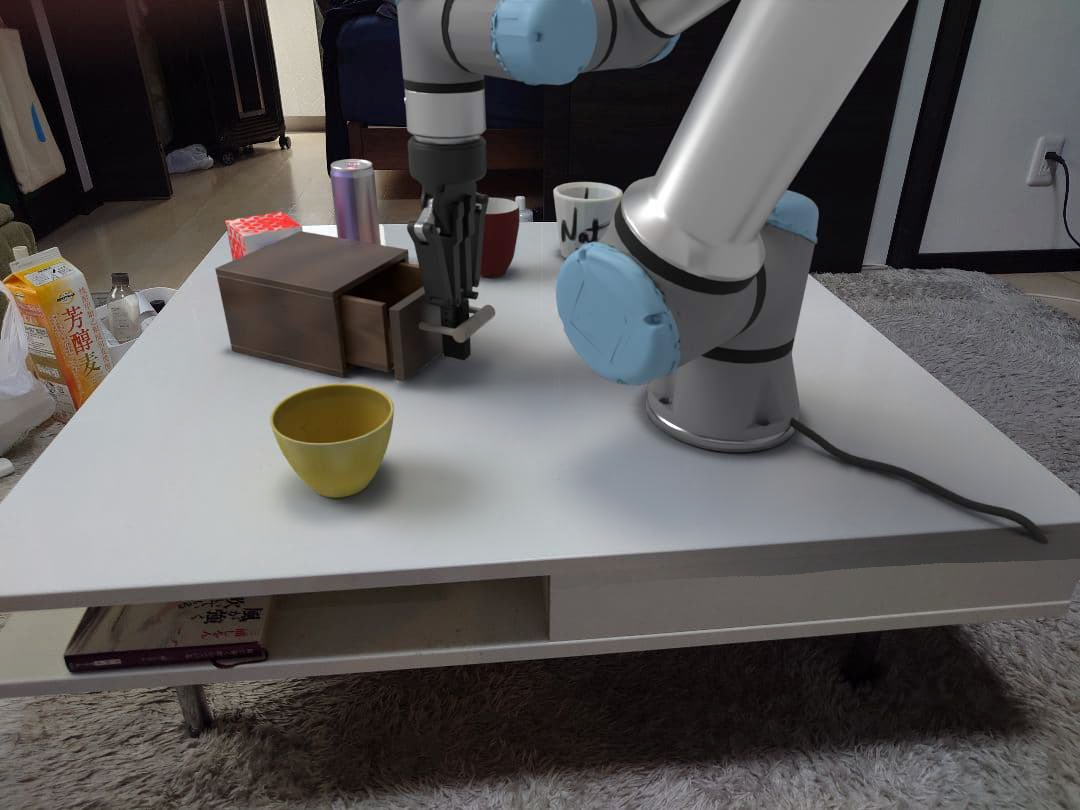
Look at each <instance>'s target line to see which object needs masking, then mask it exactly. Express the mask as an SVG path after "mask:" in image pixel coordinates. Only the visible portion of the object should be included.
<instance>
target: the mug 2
mask: <svg viewBox="0 0 1080 810" xmlns="http://www.w3.org/2000/svg"><path fill="white" fill-rule="evenodd" d="M552 192H553V199H554V208H555V216H556V224H557V232H558V242H559V249H560V250H559V251H560V254H561V256H562V257H563V258H564V259H565V260H566V259H567V258H568V257H569V256H570V255H571V254H572V253H573V252H575V251H576V250H578V249H579V248H580V247H581V246H582V245H584V244H588V243H591V242H598V241H599V240H600V239H601V238H602V237H603V236H604V234H605V232H606V230H607V228H608V226H609V224H610V222H611V220H612V218H613V215H614V213H615V211H616V209H617V207H618V205H619V203H620V201H621V198H622V196H623V194H624V193H623V190H622V189H621V188H619V187H617V186H614V185H611V184H607V183H602V182H594V181H593V182H592V181H576V182H575V181H574V182H568V183H563V184H560V185H557V186H556V187H555V188H554V189H553V191H552Z"/></svg>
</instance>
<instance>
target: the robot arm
mask: <svg viewBox="0 0 1080 810" xmlns="http://www.w3.org/2000/svg"><path fill="white" fill-rule="evenodd" d="M730 1H731V0H395V7H396V8H397V9H396V10H397V20H398V21H397V22H398V32H399V33H398V35H399V44H400V45H399V46H400V55H401V56H400V57H401V68H402V69H401V70H402V79H403V87H404V98H403V100H404V104H405V116H406V130H407V132H408V133H409V134H410V135H413V136H411V137H410V138H409V140H408V141H407V155H408V168H409V175H410V176H411V178H412V179H414V180H415V181H417V182H418V183H419V184H420V186H421V195H420V201H419V202H420V204H419V206H420V209H421V213H420V216H419V218H418V219H417V221H416V220H409V221H408V222H407V225H406V231H407V233H408V235H409V237H410V239H411V240H412V243H413V245H414V251H415V254H416V259H417V263H418V264H417V265H419V268H420V273H421V277H422V282H423V287H424V291H425V296H426V300H427V303H428V304H432V305H438V306H440V313H441V326H443V327H448V328H453V329H456V328H457V327H458V326H460V325H461V324H462V323H463V322H465V321H466V320H467V319H468V318H470V313H469V306H470V301H469V300H477V299H478V298H479V294H480V293H479V291H474V290H473V288H478V287H479V286H480V281H481V276H480V270H481V258H482V245H483V233H484V221H485V214H486V210H487V206H488V201H489V198H490V197H489V194H484V193H478V191H477V190H478V188H477V183H476V182H477V181H480V180H482V179H483V178H485V176H486V174H487V141H486V140H485V139H484V137H483V136H482V134H483V133H484V132H485V131H486V130H487V118H486V117H487V116H486V115H487V113H486V90H485V87H486V83H485V82H486V80H485V76H489V77H494V78H501V79H506V80H512V81H517V82H523V83H524V84H525V85H530V86H538V85H552V86H553V85H554V86H561V85H565V84H569V83H571V82H572V81H574V80H575V79H576V78H577V76H578V75H580V74H584V73H587V72H589V73H590V72H598V71H607V70H608V71H609V70H617V69H637V68H641V67H643V66H646V65H648V64H651V63H655V62H658V61H660V60H662V59H664V58H666V57H667V56H668V55H669V54H670V52H672V51H673V49H674V47H676V44H677V42H678V40H679V38H680V37H681V33H682V32H684V31H686V30H687V29H689V28H690V27H691V26H693V25H695V24H696V23H698V22H699V21H701V20H703V19H704V18H706V17H707V16H709V15H710V14H711V13H713V12H714V11H716V10H718V9H719V8H721V7H722V6H724V5H726V4H727V3H729V2H730ZM908 1H909V0H740V2H739V4H738V6H737V8H736V10H735V13H734V15H733V16H732V18H731V21H730V23H729V24H728V27H727V28H726V31H725V33H724V34H723V37H722V39H721V40H720V43H719V44H718V47H717V49H716V50H715V53H714V55H713V57H712V59H711V61H710V63H709V64H708V67H707V69H706V72H705V73H704V76H703V77H702V80H701V81H700V84H699V86H698V87H697V89H696V91H695V93H694V96H693V97H692V99H691V102H690V104H689V106H688V108H687V110H686V112H685V113H684V116H683V118H682V120H681V122H680V124H679V126H678V128H677V129H676V132H675V134H674V136H673V138H672V140H671V143H670V144H669V146H668V148H667V151H666V153H665V155H664V156H663V159H662V160H661V163H660V164H659V167H658V169H657V171H656V173H655V175H653V176H649V177H645V178H642V179H641V178H640V179H638V180H636V181H634V182H632V183H631V184H630V185H628V187H627V188H626V190H625V191H624V193H623V196H622V198H621V201H620V203H619V205H618V207H617V209H616V211H615V213H614V215H613V218H612V220H611V222H610V224H609V226H608V228H607V230H606V232H605V234H604V236H603V237H602V238H601V239H600V240H599V241H598V242H591V243H588V244H584V245H582V246H581V247H580V248H579V249H578V250H576V251H575V252H573V253H572V254H571V255H570V256H569V257H568V258H567V259H566V258H565V260H564V262H563V263H562V265H561V266H560V269H559V271H558V274H557V279H556V284H555V285H556V286H555V301H556V302H555V303H556V307H557V313H558V316H559V318H560V321H561V323H562V325H563V332H564V334H565V336H566V337H567V340H568V341H569V343H570V345H571V347H572V348H573V349H574V351H575V352H576V354H577V355H578V356H579V358H580V359H581V360H582V361H583V362H584V364H585V365H587V366H588V367H589V368H591V370H592V371H594V372H595V373H596V374H597V375H599V376H600V377H601V378H604V379H606V380H608V381H609V382H612V383H614V384H618V385H621V386H622V385H626V386H633V387H635V386H643V385H645V384H648V386H647V390H646V397H645V410H646V414H647V416H648V417H649V420H651V421H652V423H653V424H654V425H655V426H656V427H657V428H658V429H660V430H661V431H662V432H664V433H665V434H667V435H669V436H670V437H672V438H674V439H676V440H679V441H680V442H683V443H685V444H689V445H691V446H695V447H698V448H702V449H707V450H712V451H717V452H726V453H746V452H747V453H749V452H758V451H763V450H767V449H771V448H774V447H777V446H778V445H780V444H783V443H784V442H786V441H787V440H789V439H790V438H791V437H792V436H793V434H794V433H795V432H796V431H797V432H799V433H800V434H802V435H804V436H805V437H806V438H808V439H809V440H811V441H812V442H814V443H815V444H817V445H818V446H819V447H820V448H821V449H823V450H824V451H825V452H827V453H829V454H830V455H832V456H833V457H835V458H837V459H839V460H841V461H843V462H846V463H849V464H852V465H855V466H858V467H862V468H866V469H871V470H875V471H879V472H884V473H887V474H890V475H894V476H897V477H900V478H902V479H905V480H907V481H909V482H912V483H914V484H916V485H918V486H920V487H921V488H924V489H926V490H928V491H929V492H931V493H933V494H935V495H937V496H939V497H942V498H943V499H945V500H947V501H949V502H951V503H953V504H955V505H958V506H960V507H962V508H965V509H967V510H971V511H973V512H978V513H982V514H986V515H991V516H996V517H1000V518H1003V519H1005V520H1006V519H1007V520H1010V521H1012V522H1014V523H1017V525H1019V526H1021V527H1022V528H1024V529H1025V530H1026V531H1028V533H1029V534H1030V535H1031V536H1032V537H1033V539H1034V540H1035V541H1036V542H1038V543H1039V544H1043V545H1048V544H1049V541H1048V539H1047V537H1046V535H1045V534H1044V533H1043V531H1042V530H1041V529H1040V527H1039V526H1038V525H1036V523H1035V522H1034V521H1033V520H1031V519H1030V518H1028V517H1027V516H1025V515H1023V514H1022V513H1019V512H1017V511H1015V510H1012V509H1008V508H1006V507H1001V506H996V505H993V504H987V503H983V502H980V501H976V500H973V499H969V498H967V497H965V496H962V495H960V494H957V493H956V492H953V491H951V490H949V489H947V488H945V487H943V486H941V485H940V484H937V483H936V482H933V481H932V480H929V479H928V478H926V477H923V476H921V475H920V474H918V473H915V472H914V471H913V472H912V471H910V470H908V469H905V468H903V467H899V466H896V465H893V464H890V463H886V462H882V461H877V460H872V459H868V458H865V457H860V456H857V455H854V454H851V453H849V452H846V451H844V450H842V449H840V448H838V447H837V446H835V445H834V444H832V443H830V442H829V441H828V440H827V439H825V438H824V437H823V436H822V435H820V434H819V433H817V432H816V431H815V430H813V429H811V428H810V427H808V426H807V425H805V424H803V423H802V422H800V421H799V417H800V399H799V393H798V385H797V378H796V371H795V367H794V366H795V365H794V360H793V349H794V345H795V344H794V343H795V340H796V339H795V338H796V334H797V330H798V326H799V320H800V315H801V311H802V306H803V301H804V297H805V292H806V287H807V283H808V278H809V273H810V269H811V264H812V259H813V255H814V251H815V245H816V244H818V237H817V231H818V225H819V216H820V215H819V212H820V211H819V208H818V206H817V204H816V203H815V201H813V200H812V199H811V198H809V197H807V196H805V195H804V194H802V193H799V192H795V191H792V190H788V188H789V187H790V184H792V182H793V180H794V179H795V177H796V176H797V175H798V173H799V171H800V169H801V168H802V167H803V166H804V163H805V162H806V160H807V159H808V157H809V155H810V154H811V153H812V151H813V149H814V148H815V146H816V145H817V143H818V141H819V140H820V138H821V137H822V136H823V134H824V132H825V131H826V129H827V128H828V126H829V125H830V123H831V121H832V120H833V118H834V117H835V115H836V113H837V112H838V110H839V109H840V107H841V106H842V104H843V103H844V101H845V99H846V98H847V96H848V95H849V93H850V92H851V90H852V89H853V87H854V86H855V84H856V82H857V81H858V79H859V78H860V77H861V75H862V74H863V72H864V70H865V69H866V67H867V66H868V64H869V62H870V61H871V59H872V58H873V57H874V54H875V53H876V51H877V50H878V48H879V47H880V45H881V43H882V42H883V41H884V39H885V37H886V36H887V34H888V33H889V31H890V30H891V28H892V27H893V25H894V23H895V22H896V20H897V19H898V17H899V16H900V14H901V13H902V11H903V9H904V8H905V6H906V4H907V3H908ZM442 345H443V352H442V357H445V358H450V359H454V360H460V361H467V360H468V358H470V357H471V356H472V349H471V348H472V347H471V336H470V337H469V338H468V339H467V340H465V341H464V342H462V343H459V342H457V341H456V340H455V339H454V338H453V336H451V335H446V334H442Z"/></svg>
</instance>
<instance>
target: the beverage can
mask: <svg viewBox="0 0 1080 810" xmlns="http://www.w3.org/2000/svg"><path fill="white" fill-rule="evenodd" d="M329 174H330V176H329V177H330V182H331V183H330V184H331V192H332V201H333V209H334V217H335V225H336V234H337V237H338V238H343V239H349V240H355V241H361V242H367V243H372V244H378V245H382V241H381V232H380V220H379V219H380V218H379V207H378V198H377V196H378V195H377V187H376V186H377V185H376V175H375V170H374V168H373V163H372V161H370V160H366V159H357V158H349V159H348V158H347V159H341V160H336V161H333V162H332V163H331V164H330V173H329Z"/></svg>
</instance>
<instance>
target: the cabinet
mask: <svg viewBox="0 0 1080 810" xmlns="http://www.w3.org/2000/svg"><path fill="white" fill-rule="evenodd" d="M399 261H400V262H405V263H410V257H409V249H407V248H401V247H395V246H389V245H385V244H384V245H383V244H381V245H378V244H372V243H367V242H361V241H355V240H349V239H343V238H338V236H331V235H325V234H320V233H314V232H309V231H300V232H298V233H295V234H293V235H291V236H288V237H286V238H284V239H281V240H279V241H277V242H275V243H272V244H270V245H268V246H265V247H263V248H261V249H259V250H256V251H254V252H252V253H249V254H247V255H245V256H242V257H240V258H238V259H236V260H233V259H232V260H231V261H229V262H226V263H223V264H222V265H219V266H217V267H215V268H214V270H215V275H216V278H217V283H218V288H219V293H220V294H219V295H220V298H221V303H222V309H223V313H224V318H225V323H226V327H227V333H228V337H229V342H230V347H231V350H232V352H236V353H240V354H244V355H248V356H252V357H257V358H259V359H265V360H269V361H273V362H275V363H276V362H277V363H280V364H285V365H290V366H293V367H297V368H302V369H305V370H309V371H313V372H318V373H322V374H325V375H329V376H333V377H337V378H343V379H344V378H346V377H347V376H348V375H351V374H352V373H353V371H355V370H356V369H358V368H360V366H359V365H354V364H350V363H346V358H345V350H344V342H343V334H342V326H341V318H340V310H339V302H338V296H340V295H341V294H343V293H345V292H346V291H348V290H350V289H352V288H353V287H355V286H357V285H359V284H360V283H362V282H364V281H366V280H367V279H369V278H371V277H373V276H374V275H376V274H378V273H380V272H381V271H383V270H385V269H387V268H388V267H390V266H392V265H393V264H395V263H397V262H399Z"/></svg>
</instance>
